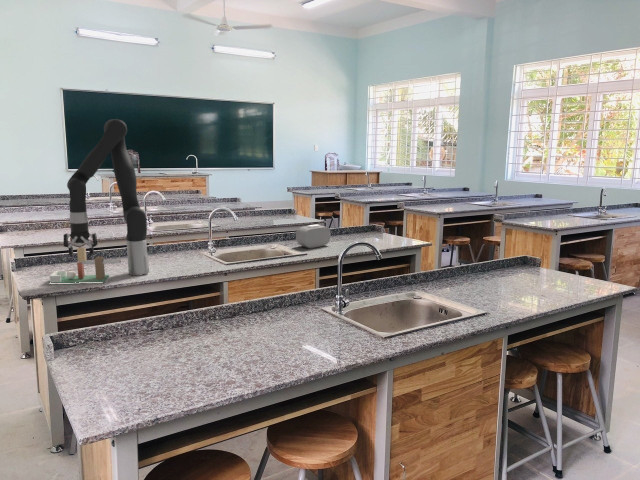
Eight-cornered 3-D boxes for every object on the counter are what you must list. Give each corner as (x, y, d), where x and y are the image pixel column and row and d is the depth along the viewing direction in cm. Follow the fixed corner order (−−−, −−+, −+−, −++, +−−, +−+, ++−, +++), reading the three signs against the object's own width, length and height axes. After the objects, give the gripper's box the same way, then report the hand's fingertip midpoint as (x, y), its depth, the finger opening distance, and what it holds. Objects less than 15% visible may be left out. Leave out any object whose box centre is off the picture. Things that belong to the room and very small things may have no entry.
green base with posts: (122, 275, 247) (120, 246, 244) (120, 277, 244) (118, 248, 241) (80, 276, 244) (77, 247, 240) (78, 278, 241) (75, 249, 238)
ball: (77, 277, 244) (76, 269, 243) (74, 280, 240) (74, 271, 239) (68, 277, 243) (67, 269, 242) (65, 280, 239) (64, 272, 239)
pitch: (109, 276, 250) (107, 254, 247) (103, 283, 239) (101, 260, 237) (56, 278, 246) (54, 255, 243) (48, 285, 235) (46, 261, 233)
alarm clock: (320, 242, 331) (321, 222, 328) (330, 245, 324) (330, 224, 321) (295, 246, 318) (295, 225, 315) (304, 249, 311) (305, 228, 308)
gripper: (97, 219, 241) (99, 253, 245) (65, 219, 239) (67, 253, 242) (93, 222, 234) (95, 257, 238) (59, 222, 232) (62, 257, 235)
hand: (81, 255), depth 240 cm, fingers open, 8 cm apart
